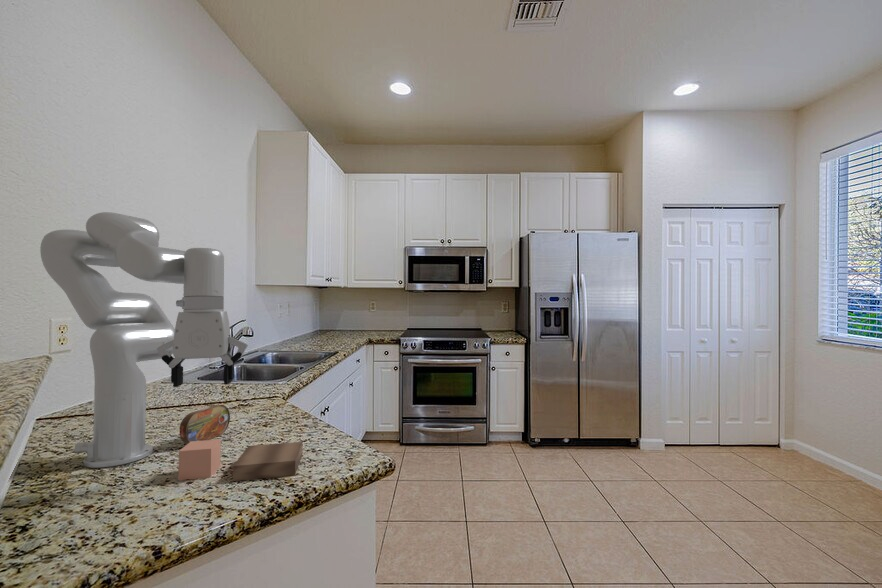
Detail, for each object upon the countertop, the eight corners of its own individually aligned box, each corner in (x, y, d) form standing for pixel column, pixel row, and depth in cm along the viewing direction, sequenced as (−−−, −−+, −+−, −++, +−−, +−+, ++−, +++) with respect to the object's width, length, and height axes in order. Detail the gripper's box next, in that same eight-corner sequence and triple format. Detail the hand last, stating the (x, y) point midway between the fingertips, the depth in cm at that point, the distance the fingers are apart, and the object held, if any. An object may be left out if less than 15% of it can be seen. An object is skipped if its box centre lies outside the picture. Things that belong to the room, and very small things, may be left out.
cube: (178, 480, 80) (178, 451, 80) (190, 469, 85) (190, 441, 86) (210, 477, 81) (211, 448, 81) (220, 466, 87) (220, 439, 87)
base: (232, 481, 79) (232, 465, 79) (248, 458, 91) (248, 445, 91) (295, 475, 82) (295, 460, 82) (302, 454, 93) (302, 441, 94)
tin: (187, 449, 97) (187, 415, 98) (176, 448, 98) (177, 415, 98) (230, 431, 112) (231, 401, 112) (221, 430, 113) (221, 401, 113)
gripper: (149, 305, 79) (148, 390, 78) (242, 304, 83) (242, 385, 82) (166, 306, 86) (165, 383, 86) (251, 305, 90) (251, 379, 90)
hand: (203, 384), depth 84 cm, fingers open, 9 cm apart
